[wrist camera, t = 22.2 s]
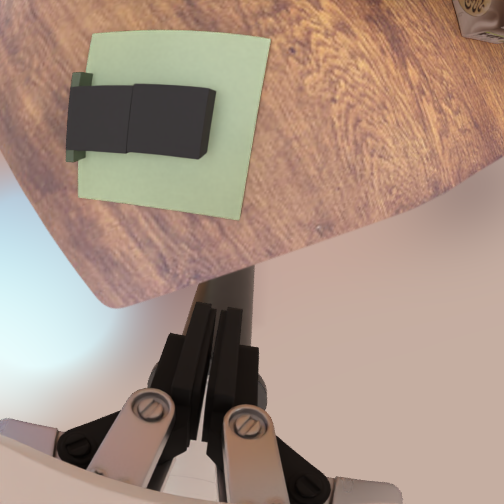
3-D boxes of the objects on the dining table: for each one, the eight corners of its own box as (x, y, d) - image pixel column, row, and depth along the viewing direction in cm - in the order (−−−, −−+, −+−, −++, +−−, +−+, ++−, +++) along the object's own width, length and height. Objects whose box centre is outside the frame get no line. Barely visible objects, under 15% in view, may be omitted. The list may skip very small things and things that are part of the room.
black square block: (142, 147, 28) (125, 154, 24) (86, 143, 28) (65, 150, 24) (149, 87, 25) (133, 85, 22) (91, 87, 25) (70, 86, 22)
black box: (207, 153, 28) (198, 159, 25) (142, 146, 28) (125, 152, 24) (216, 91, 26) (209, 87, 22) (149, 85, 25) (133, 83, 22)
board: (239, 218, 32) (237, 230, 29) (80, 196, 31) (66, 204, 28) (270, 40, 24) (272, 32, 21) (94, 34, 23) (80, 29, 20)
